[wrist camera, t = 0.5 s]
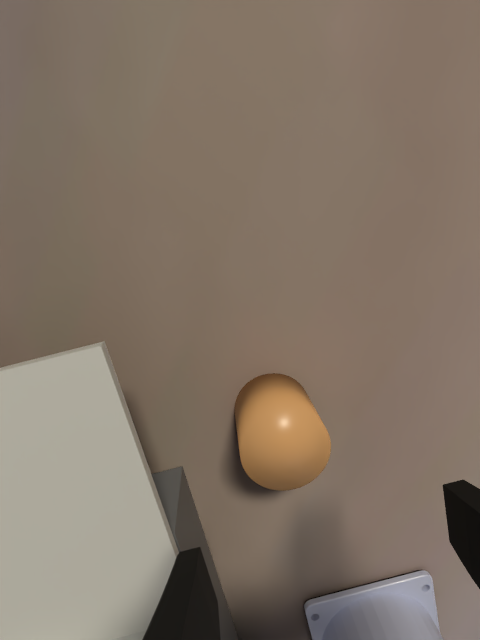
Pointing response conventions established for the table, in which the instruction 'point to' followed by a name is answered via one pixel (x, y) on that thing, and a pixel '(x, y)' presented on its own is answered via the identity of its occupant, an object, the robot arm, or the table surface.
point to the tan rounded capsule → (280, 433)
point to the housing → (190, 534)
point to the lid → (76, 505)
